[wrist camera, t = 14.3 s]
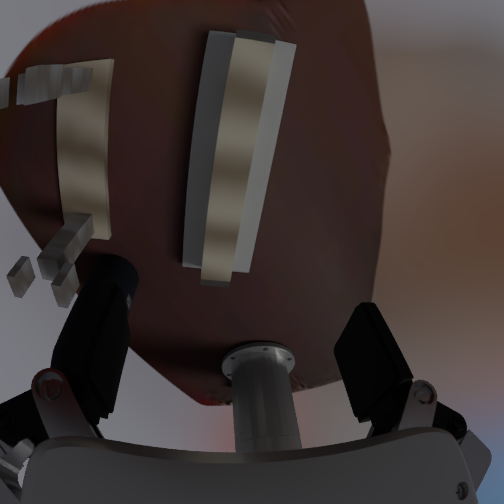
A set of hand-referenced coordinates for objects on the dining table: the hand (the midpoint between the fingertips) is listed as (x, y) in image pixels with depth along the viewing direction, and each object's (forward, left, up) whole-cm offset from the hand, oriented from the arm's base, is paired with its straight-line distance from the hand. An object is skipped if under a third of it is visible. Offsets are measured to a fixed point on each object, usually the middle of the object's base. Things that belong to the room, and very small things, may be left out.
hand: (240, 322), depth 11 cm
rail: (0, 0, -20) cm, 20 cm away
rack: (+1, +16, -20) cm, 26 cm away
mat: (+1, 0, -20) cm, 20 cm away
